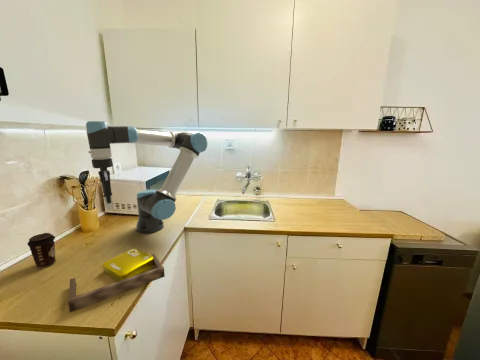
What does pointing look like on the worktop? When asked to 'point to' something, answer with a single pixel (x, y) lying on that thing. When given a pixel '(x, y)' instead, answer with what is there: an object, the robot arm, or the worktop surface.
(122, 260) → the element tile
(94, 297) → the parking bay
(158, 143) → the robot arm
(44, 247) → the coffee cup
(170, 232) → the worktop surface
